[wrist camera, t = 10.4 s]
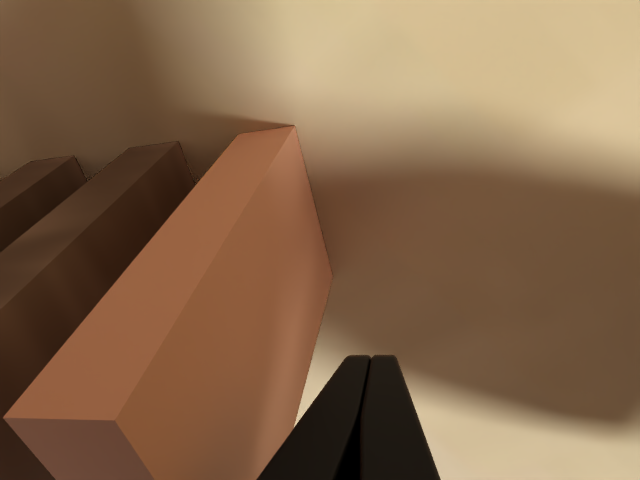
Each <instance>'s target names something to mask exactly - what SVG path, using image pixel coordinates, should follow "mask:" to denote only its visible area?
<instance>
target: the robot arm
mask: <svg viewBox="0 0 640 480" xmlns="http://www.w3.org/2000/svg"><path fill="white" fill-rule="evenodd" d="M256 480H441V479H440V476H439V474H438V471H437V468H436V465H435V463H434V460H433V457H432V454H431V452H430V449H429V446H428V443H427V440H426V438H425V435H424V432H423V429H422V427H421V424H420V421H419V418H418V416H417V413H416V410H415V407H414V404H413V402H412V399H411V396H410V393H409V391H408V388H407V385H406V382H405V380H404V377H403V374H402V371H401V369H400V366H399V363H398V360H397V358H396V357H395V356H394V355H374V356H373V357H372V358H371V357H370V356H368V355H349V356H347V357H346V358H345V359H344V361H343V362H342V363H341V365H340V366H339V367H338V369H337V370H336V371H335V373H334V374H333V376H332V377H331V378H330V380H329V381H328V382H327V384H326V385H325V386H324V388H323V389H322V391H321V392H320V393H319V395H318V396H317V397H316V399H315V400H314V401H313V403H312V404H311V405H310V407H309V408H308V410H307V411H306V412H305V414H304V415H303V416H302V418H301V419H300V420H299V422H298V423H297V425H296V426H295V427H294V429H293V430H292V431H291V433H290V434H289V435H288V437H287V438H286V440H285V441H284V442H283V444H282V445H281V446H280V448H279V449H278V450H277V452H276V453H275V454H274V456H273V457H272V459H271V460H270V461H269V463H268V464H267V465H266V467H265V468H264V469H263V471H262V472H261V474H260V475H259V476H258V478H257V479H256Z"/></svg>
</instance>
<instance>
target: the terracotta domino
mask: <svg viewBox="0 0 640 480" xmlns="http://www.w3.org/2000/svg"><path fill="white" fill-rule="evenodd" d="M332 279H333V275H332V271H331V267H330V263H329V259H328V255H327V251H326V247H325V243H324V239H323V235H322V231H321V227H320V223H319V219H318V215H317V211H316V208H315V204H314V200H313V196H312V192H311V188H310V184H309V180H308V176H307V172H306V168H305V164H304V160H303V156H302V152H301V148H300V144H299V140H298V136H297V132H296V129H295V126H289V127H282V128H275V129H268V130H262V131H255V132H248V133H242V134H238V135H237V136H236V138H235V139H234V140H233V141H232V142H231V144H230V145H229V146H228V147H227V148H226V150H225V151H224V152H223V153H222V154H221V156H220V157H219V158H218V159H217V160H216V162H215V163H214V164H213V165H212V166H211V168H210V169H209V170H208V171H207V172H206V174H205V175H204V176H203V177H202V178H201V180H200V181H199V182H198V183H197V185H196V186H195V187H194V188H193V189H192V191H191V192H190V193H189V194H188V195H187V197H186V198H185V199H184V200H183V201H182V203H181V204H180V205H179V206H178V207H177V209H176V210H175V211H174V212H173V213H172V215H171V216H170V217H169V218H168V219H167V221H166V222H165V223H164V224H163V225H162V227H161V228H160V229H159V230H158V231H157V233H156V234H155V235H154V236H153V237H152V239H151V240H150V241H149V242H148V243H147V245H146V246H145V247H144V248H143V250H142V251H141V252H140V253H139V254H138V256H137V257H136V258H135V259H134V260H133V262H132V263H131V264H130V265H129V266H128V268H127V269H126V270H125V271H124V272H123V274H122V275H121V276H120V277H119V278H118V280H117V281H116V282H115V283H114V284H113V286H112V287H111V288H110V289H109V290H108V292H107V293H106V294H105V295H104V296H103V298H102V299H101V300H100V301H99V302H98V304H97V305H96V306H95V307H94V308H93V310H92V311H91V312H90V313H89V315H88V316H87V317H86V318H85V319H84V321H83V322H82V323H81V324H80V325H79V327H78V328H77V329H76V330H75V331H74V333H73V334H72V335H71V336H70V337H69V339H68V340H67V341H66V342H65V343H64V345H63V346H62V347H61V348H60V349H59V351H58V352H57V353H56V354H55V355H54V357H53V358H52V359H51V360H50V361H49V363H48V364H47V365H46V366H45V367H44V369H43V370H42V371H41V372H40V373H39V375H38V376H37V377H36V378H35V380H34V381H33V382H32V383H31V384H30V386H29V387H28V388H27V389H26V390H25V392H24V393H23V394H22V395H21V396H20V398H19V399H18V400H17V401H16V402H15V404H14V405H13V406H12V407H11V408H10V410H9V411H8V412H7V413H6V414H5V416H4V417H3V419H4V420H5V421H6V422H7V423H8V424H9V426H10V427H11V428H12V429H13V430H14V431H15V433H16V434H17V435H18V436H19V437H20V438H21V440H22V441H23V442H24V443H25V444H26V445H27V447H28V448H29V449H30V450H31V451H32V452H33V454H34V455H35V456H36V457H37V458H38V459H39V461H40V462H41V463H42V464H43V465H44V466H45V468H46V469H47V470H48V471H49V472H50V474H51V475H52V476H53V477H54V478H55V479H56V480H256V479H257V478H258V476H259V475H260V474H261V472H262V471H263V469H264V468H265V467H266V465H267V464H268V463H269V461H270V460H271V459H272V457H273V456H274V454H275V453H276V452H277V450H278V449H279V448H280V446H281V445H282V444H283V442H284V441H285V440H286V438H287V437H288V435H289V434H290V433H291V431H292V430H293V428H294V424H295V421H296V417H297V413H298V409H299V405H300V402H301V398H302V394H303V390H304V386H305V382H306V379H307V375H308V371H309V367H310V363H311V360H312V356H313V352H314V348H315V344H316V340H317V337H318V333H319V329H320V325H321V321H322V318H323V314H324V310H325V306H326V302H327V298H328V295H329V291H330V287H331V283H332Z"/></svg>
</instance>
